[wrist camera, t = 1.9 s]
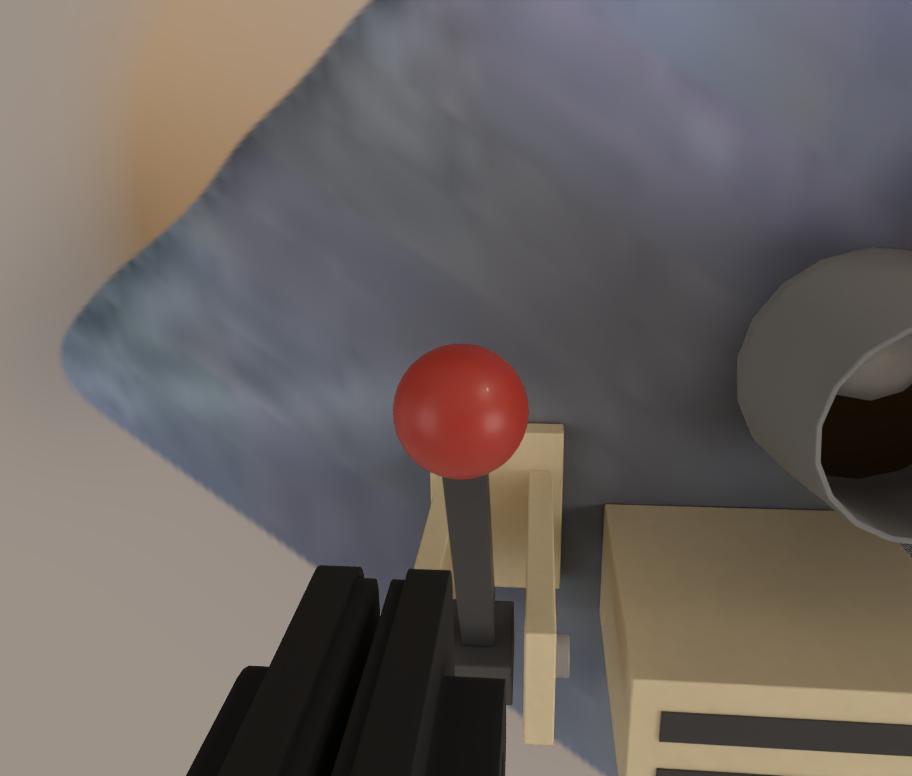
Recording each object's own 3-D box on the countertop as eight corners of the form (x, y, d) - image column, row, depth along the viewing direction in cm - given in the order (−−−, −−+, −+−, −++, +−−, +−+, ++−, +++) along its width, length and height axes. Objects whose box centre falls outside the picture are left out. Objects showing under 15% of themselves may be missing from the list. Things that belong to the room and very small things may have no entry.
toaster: (604, 503, 37) (632, 681, 26) (874, 511, 36) (1028, 701, 24) (599, 612, 39) (623, 821, 28) (854, 623, 38) (988, 846, 26)
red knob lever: (395, 315, 19) (374, 413, 17) (530, 316, 19) (527, 415, 16) (442, 627, 29) (433, 713, 27) (528, 631, 29) (526, 718, 27)
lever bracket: (431, 420, 36) (378, 578, 24) (563, 423, 36) (574, 585, 24) (436, 570, 39) (390, 778, 27) (559, 575, 39) (567, 790, 27)
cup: (716, 241, 32) (787, 298, 23) (961, 219, 31) (1141, 269, 22) (717, 452, 36) (779, 578, 26) (939, 440, 34) (1088, 567, 25)
